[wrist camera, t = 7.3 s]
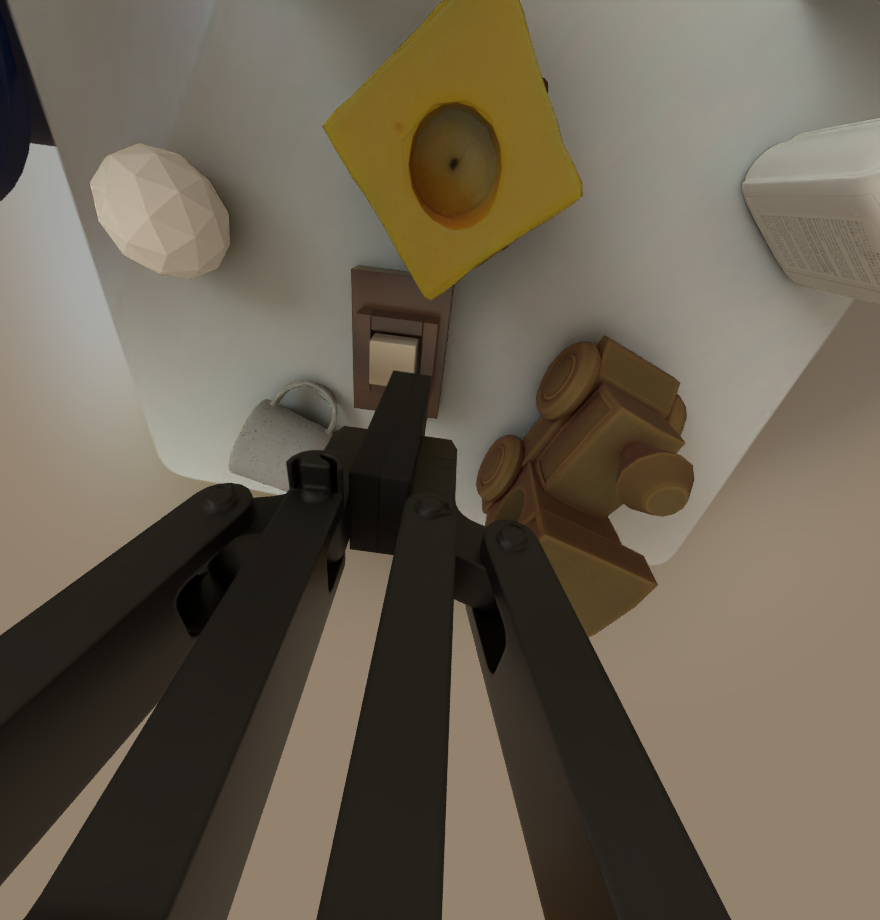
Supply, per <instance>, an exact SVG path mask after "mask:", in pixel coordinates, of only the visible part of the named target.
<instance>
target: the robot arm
mask: <svg viewBox="0 0 880 920" xmlns="http://www.w3.org/2000/svg"><path fill="white" fill-rule="evenodd" d="M431 380H432V376H429V375H422V374H415V373H408V372H401V371H395V370H393V372H392V374H391V377H390V379H389V381H388V384H387V386H386V388H385V390H384V393H383V395H382V397H381V400H380V402H379V404H378V406H377V409H376V411H375V413H374V416H373V418H372V420H371V422H370V425H369V427H368V429H363V428H356V427H349V426H344V427H342V428H341V429H339V430H338V431H336V432H334V433H333V435H332V437H331V438H330V440H329V442H328V444H327V445H326V447H325V449H324V450H308V451H303V452H300V453H298V454H295V455H293V456H292V457H290V458H289V459H288V460H287V461H286V466H287V474H288V481H289V490H288V492H287V493H286V494H283V495H278V496H270V497H258V498H253V496H252V494H251V492H250V490H249V489H248V488H246V487H245V486H243V485H240V484H234V483H223V484H216V485H213V486H210V487H207V488H205V489H203V490H201V491H199V492H197V493H196V494H194V495H193V496H192V497H190V498H189V499H187V500H186V501H185V502H183V503H182V504H181V505H179V506H178V507H176V508H175V509H174V510H173V511H171V512H170V513H168V514H167V515H166V516H164V517H163V518H161V519H160V520H159V521H157V522H156V523H154V524H153V525H152V526H150V527H149V528H148V529H146V530H145V531H143V532H142V533H141V534H139V535H138V536H137V537H135V538H134V539H133V540H131V541H130V542H128V543H127V544H126V545H124V546H123V547H121V548H120V549H119V550H118V551H116V552H115V553H113V554H112V555H111V556H109V557H108V558H106V559H105V560H104V561H102V562H101V563H99V564H98V565H97V566H95V567H94V568H93V569H91V570H90V571H88V572H87V573H86V574H84V575H83V576H81V577H80V578H79V579H77V580H76V581H75V582H73V583H72V584H70V585H69V586H68V587H66V588H65V589H64V590H62V591H61V592H60V593H58V594H57V595H55V596H54V597H53V598H51V599H50V600H48V601H47V602H46V603H44V604H43V605H42V606H40V607H39V608H37V609H36V610H35V611H33V612H32V613H31V614H29V615H28V616H27V617H25V618H24V619H22V620H21V621H20V622H18V623H17V624H15V625H14V626H13V627H11V628H10V629H9V630H7V631H6V632H4V633H3V634H2V635H0V886H1V884H2V883H3V882H4V881H5V880H6V879H7V877H8V876H9V875H10V874H11V873H12V872H13V871H14V869H15V868H16V867H17V866H18V865H19V864H20V862H21V861H22V860H23V859H24V858H25V857H26V855H27V854H28V853H29V852H30V851H31V849H32V848H33V847H34V846H35V845H36V844H37V843H38V842H39V840H40V839H41V838H42V837H43V836H44V835H45V833H46V832H47V831H48V830H49V829H50V827H51V826H52V825H53V824H54V823H55V822H56V821H57V819H58V818H59V817H60V816H61V815H62V814H63V812H64V811H65V810H66V809H67V808H68V807H69V806H70V804H71V803H72V802H73V801H74V800H75V798H76V797H77V796H78V795H79V794H80V793H81V792H82V790H83V789H84V788H85V787H86V785H88V783H89V782H90V781H91V780H92V779H93V778H94V776H95V775H96V774H97V773H98V772H99V771H100V769H101V768H102V767H103V766H104V765H105V763H106V762H107V761H108V760H109V759H110V758H111V757H112V755H113V754H114V753H115V752H116V751H117V750H118V749H119V747H120V746H121V745H122V744H123V743H124V741H125V740H126V739H127V738H128V737H129V736H130V734H131V733H132V732H133V731H134V730H135V729H136V728H137V727H138V725H139V724H140V723H141V722H142V721H143V719H144V718H145V717H146V716H147V715H148V713H150V711H151V710H152V709H153V708H154V707H155V706H156V704H157V703H158V704H157V706H156V707H155V709H154V711H153V712H152V714H151V715H150V717H149V719H148V720H147V722H146V724H145V725H144V727H143V729H142V730H141V732H140V734H139V735H138V737H137V738H136V740H135V742H134V744H133V745H132V747H131V748H130V750H129V751H128V753H127V755H126V756H125V758H124V760H123V761H122V763H121V764H120V766H119V768H118V769H117V771H116V773H115V774H114V776H113V778H112V779H111V781H110V782H109V784H108V786H107V787H106V789H105V791H104V792H103V794H102V796H101V797H100V799H99V800H98V802H97V804H96V806H95V807H94V809H93V811H92V812H91V813H90V815H89V817H88V818H87V820H86V822H85V823H84V825H83V826H82V828H81V830H80V831H79V833H78V835H77V836H76V838H75V840H74V841H73V843H72V845H71V846H70V848H69V849H68V851H67V853H66V854H65V856H64V857H63V860H62V861H61V862H60V864H59V866H58V867H57V869H56V871H55V872H54V874H53V875H52V877H51V879H50V881H49V882H48V884H47V885H46V887H45V888H44V890H43V892H42V894H41V895H40V897H39V898H38V900H37V901H36V902H35V904H34V905H33V907H32V908H31V910H30V911H29V913H28V914H27V916H26V917H25V918H24V919H23V920H227V917H228V914H229V911H230V908H231V905H232V902H233V899H234V896H235V893H236V890H237V887H238V884H239V881H240V878H241V875H242V872H243V869H244V866H245V863H246V860H247V857H248V854H249V851H250V848H251V845H252V842H253V839H254V836H255V833H256V830H257V827H258V824H259V821H260V818H261V815H262V812H263V809H264V806H265V803H266V800H267V797H268V794H269V791H270V788H271V785H272V782H273V779H274V776H275V773H276V770H277V767H278V764H279V761H280V758H281V755H282V752H283V749H284V746H285V743H286V740H287V737H288V734H289V731H290V728H291V725H292V722H293V719H294V716H295V713H296V710H297V707H298V704H299V701H300V698H301V695H302V692H303V689H304V686H305V683H306V680H307V677H308V674H309V671H310V668H311V665H312V662H313V659H314V656H315V653H316V650H317V647H318V644H319V641H320V638H321V635H322V632H323V629H324V626H325V623H326V620H327V617H328V614H329V611H330V608H331V605H332V602H333V599H334V596H335V593H336V590H337V587H338V584H339V581H340V578H341V575H342V572H343V569H344V566H345V550H346V547H347V544H348V541H349V538H350V549H353V550H360V551H367V552H375V553H382V554H390V555H394V556H393V561H392V566H391V570H390V575H389V580H388V585H387V589H386V594H385V599H384V603H383V608H382V613H381V618H380V623H379V627H378V632H377V637H376V641H375V646H374V651H373V656H372V660H371V665H370V670H369V674H368V679H367V684H366V688H365V693H364V698H363V702H362V707H361V712H360V717H359V721H358V726H357V731H356V736H355V741H354V745H353V750H352V755H351V759H350V764H349V769H348V773H347V778H346V783H345V787H344V792H343V797H342V802H341V806H340V811H339V816H338V820H337V825H336V830H335V835H334V839H333V844H332V849H331V854H330V858H329V863H328V868H327V873H326V877H325V882H324V887H323V891H322V896H321V901H320V905H319V910H318V915H317V920H442V898H443V872H444V871H443V870H444V846H445V845H444V843H445V818H446V792H447V766H448V740H449V712H450V686H451V685H450V684H451V659H452V633H453V606H454V599H455V600H457V601H459V602H462V603H464V604H466V610H467V614H468V618H469V622H470V626H471V630H472V634H473V638H474V642H475V646H476V650H477V654H478V658H479V662H480V666H481V669H482V673H483V677H484V681H485V685H486V689H487V693H488V697H489V701H490V705H491V709H492V713H493V717H494V721H495V725H496V728H497V732H498V736H499V740H500V744H501V748H502V752H503V756H504V760H505V764H506V767H507V772H508V775H509V780H510V784H511V787H512V791H513V795H514V799H515V803H516V807H517V811H518V815H519V819H520V823H521V827H522V831H523V834H524V839H525V842H526V846H527V850H528V854H529V858H530V862H531V866H532V870H533V873H534V878H535V882H536V886H537V890H538V894H539V898H540V902H541V906H542V909H543V913H544V917H545V920H731V918H730V916H729V915H728V913H727V911H726V909H725V907H724V905H723V903H722V901H721V899H720V897H719V895H718V893H717V891H716V889H715V887H714V885H713V883H712V881H711V879H710V877H709V876H708V873H707V871H706V869H705V867H704V865H703V863H702V861H701V859H700V857H699V855H698V853H697V851H696V849H695V848H694V845H693V843H692V842H691V840H690V838H689V836H688V834H687V832H686V830H685V828H684V826H683V824H682V822H681V820H680V818H679V816H678V814H677V812H676V810H675V808H674V806H673V804H672V802H671V800H670V798H669V796H668V794H667V792H666V790H665V788H664V786H663V784H662V782H661V781H660V778H659V776H658V774H657V772H656V771H655V769H654V767H653V765H652V763H651V761H650V759H649V757H648V755H647V753H646V751H645V749H644V747H643V745H642V743H641V741H640V739H639V737H638V735H637V733H636V731H635V729H634V727H633V725H632V723H631V721H630V719H629V717H628V715H627V713H626V711H625V709H624V708H623V705H622V703H621V702H620V699H619V697H618V696H617V693H616V692H615V690H614V688H613V686H612V684H611V682H610V680H609V678H608V676H607V674H606V672H605V670H604V668H603V666H602V664H601V662H600V660H599V658H598V656H597V654H596V652H595V650H594V648H593V646H592V644H591V642H590V640H589V638H588V636H587V634H586V632H585V630H584V628H583V626H582V624H581V622H580V620H579V618H578V617H577V615H576V613H575V611H574V609H573V607H572V605H571V603H570V601H569V599H568V597H567V595H566V593H565V591H564V589H563V587H562V585H561V583H560V581H559V579H558V577H557V575H556V573H555V571H554V569H553V567H552V565H551V563H550V561H549V559H548V557H547V555H546V553H545V551H544V549H543V547H542V545H541V543H540V542H539V540H538V538H537V536H536V535H535V534H534V533H533V531H532V530H531V529H529V528H528V527H526V526H525V525H524V524H521V523H519V522H516V521H513V520H504V519H502V520H497V521H494V522H492V523H491V524H489V525H488V526H487V527H485V526H483V525H480V524H478V523H475V522H473V521H471V520H469V519H468V518H467V517H465V516H464V515H463V514H462V513H461V512H460V511H459V510H458V508H457V506H456V502H455V489H456V465H457V448H456V447H455V445H454V444H453V442H452V440H448V439H441V438H434V437H427V436H425V428H426V420H427V412H428V404H429V396H430V388H431Z"/></svg>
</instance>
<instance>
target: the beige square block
mask: <svg viewBox="0 0 880 920" xmlns="http://www.w3.org/2000/svg"><path fill="white" fill-rule="evenodd" d="M418 347H419V339H417V338H409V337H402V336H394V335H387V334H379V333H375V334H374V335H373V337H372V338H371V340H370V363H369V383H370V384H375V385H382V386H387V384H388V381H389V379H390V377H391V374H392V372H393V370H395V371H401V372H408V373H415V374H416V372H417V360H418Z"/></svg>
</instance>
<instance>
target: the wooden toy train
mask: <svg viewBox="0 0 880 920" xmlns="http://www.w3.org/2000/svg"><path fill="white" fill-rule="evenodd" d="M679 385H680V382H679V381H677V380H676V379H675V378H674V377H672V376H671V375H669V374H667V373H666V372H664V371H662V370H661V369H659V368H658V367H656V366H654V365H653V364H651V363H649V362H648V361H646V360H645V359H643V358H641V357H640V356H638V355H636V354H635V353H633V352H631V351H630V350H628V349H627V348H625V347H623V346H622V345H620V344H618V343H617V342H615V341H613V340H612V339H610V338H609V337H607V336H605V335H604V336H603V338H602V339H601V340H600V341H599V343H598V344H597V345H595V344H593V343H590V342H580V343H576V344H573V345H571V346H569V347H568V348H566V349H565V350H564V351H563V352H562V353H561V354H560V355H559V356H558V357H557V358H556V359H555V360H554V362H553V363H552V364H551V366H550V367H549V369H548V370H547V372H546V373H545V375H544V377H543V379H542V381H541V383H540V386H539V389H538V392H537V397H536V404H537V409H538V411H539V412H540V414H541V415H542V416H541V417H540V418H539V420H538V421H537V422H536V424H535V425H534V426H533V427H532V429H531V430H530V431H529V433H528V434H527V435H526V436H525V438H524V439H523V440H522V441H521V440H520V439H519V438H518V437H517V436H514V435H507V436H504V437H502V438H500V439H498V440H497V441H496V442H495V443H494V444H493V445H492V447H491V448H490V449H489V451H488V453H487V454H486V456H485V458H484V460H483V462H482V464H481V467H480V469H479V472H478V476H477V482H476V486H477V491H478V494H479V495H480V496H481V497H482V509H483V513H485V514H487V518H486V523H485V527H487V526H488V525H489V524H491V523H492V522H494V521H497V520H502V519H504V520H513V521H516V522H519V523H521V524H524V525H525V526H526V527H528V528H529V529H531V530H532V531H533V533H534V534H535V535H536V536H537V538H538V540H539V542H540V543H541V545H542V547H543V549H544V551H545V553H546V555H547V557H548V559H549V561H550V563H551V565H552V567H553V569H554V571H555V573H556V575H557V577H558V579H559V581H560V583H561V585H562V587H563V589H564V591H565V593H566V595H567V597H568V599H569V601H570V603H571V605H572V607H573V609H574V611H575V613H576V615H577V617H578V618H579V620H580V622H581V624H582V626H583V628H584V630H585V632H586V634H587V636H588V637H590V636H592V635H595V634H596V633H598V632H599V631H601V630H602V629H604V628H605V627H606V626H608V625H609V624H611V623H612V622H614V621H615V620H617V619H618V618H620V617H621V616H622V615H624V614H626V613H627V612H628V611H630V610H631V609H633V608H634V607H635V606H636V605H637V604H639V603H640V602H641V601H642V600H643V599H644V598H645V597H646V596H647V595H648V594H649V593H650V592H651V591H652V590H653V589H654V588H655V587H656V586H657V585H658V584H657V583H656V580H655V578H654V576H653V574H652V572H651V570H650V568H649V566H648V564H647V562H646V560H645V558H644V556H643V555H641V554H639V553H637V552H635V551H633V550H631V549H629V548H627V547H625V546H623V545H622V544H621V542H620V540H619V538H618V535H617V533H616V531H615V529H614V528H613V526H612V524H611V522H610V520H609V518H608V517H607V516H608V515H609V514H611V513H612V512H613V511H615V510H616V509H617V508H619V507H620V506H621V505H622V504H625V505H626V506H627V507H629V508H630V509H633V510H637V511H640V512H644V513H647V514H650V515H655V516H667V515H672V514H675V513H676V512H678V511H679V510H681V509H683V508H684V506H685V505H686V503H687V502H688V500H689V496H690V493H691V489H692V486H693V482H694V473H693V465H692V464H691V463H689V462H688V461H687V460H686V459H685V458H684V457H682V456H681V455H679V454H676V453H677V452H678V451H679V450H680V448H681V447H682V446H683V445H684V444H685V442H684V440H683V439H682V438H681V436H680V435H681V433H682V431H683V428H684V425H685V421H686V407H685V405H684V402H683V401H682V399H681V397H680V396H679V395H678V394H677V391H678V388H679Z"/></svg>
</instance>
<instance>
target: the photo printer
mask: <svg viewBox="0 0 880 920" xmlns="http://www.w3.org/2000/svg"><path fill="white" fill-rule="evenodd" d="M742 191H743V195H744V198H745V201H746V203H747V206H748V208H749V210H750V212H751V214H752V216H753V218H754V220H755V222H756V224H757V225H758V227H759V229H760V231H761V233H762V235H763V237H764V238H765V240H766V242H767V244H768V246H769V248H770V249H771V251H772V253H773V255H774V256H775V258H776V260H777V262H778V263H779V265H780V266H781V268H782V270H783V271H784V272H785V274H786V275H787V276H788V277H789V278H790V279H791V280H792V281H794V282H795V283H797V284H800V285H804V286H808V287H812V288H816V289H820V290H824V291H828V292H832V293H836V294H840V295H844V296H847V297H852V298H856V299H860V300H863V301H867V302H871V303H875V304H879V305H880V118H876V119H870V120H866V121H860V122H855V123H850V124H845V125H840V126H834V127H829V128H824V129H820V130H815V131H810V132H805V133H802V134H799V135H796V136H795V137H793V138H792V139H791V140H790V141H785V142H781V143H778V144H776V145H774V146H772V147H771V148H769V149H768V150H766V151H765V152H764V153H763V154H762V155H761V156H760V157H759V158H758V159H757V160H756V161H755V162H754V163H753V165H752V166H751V168H750V169H749V171H748V173H747V175H746V177H745V181H744V182H743V183H742Z"/></svg>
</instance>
